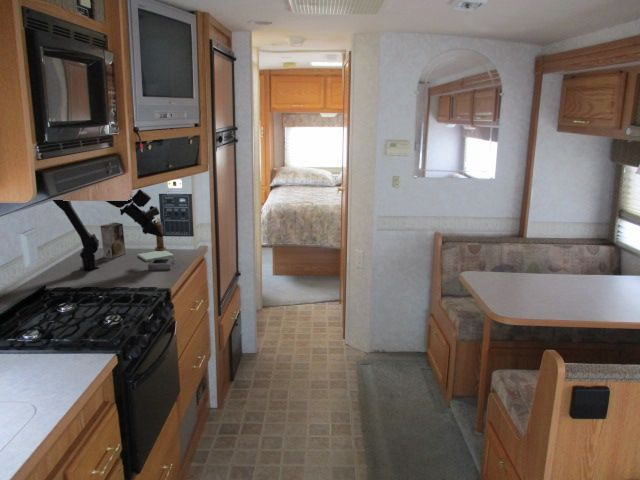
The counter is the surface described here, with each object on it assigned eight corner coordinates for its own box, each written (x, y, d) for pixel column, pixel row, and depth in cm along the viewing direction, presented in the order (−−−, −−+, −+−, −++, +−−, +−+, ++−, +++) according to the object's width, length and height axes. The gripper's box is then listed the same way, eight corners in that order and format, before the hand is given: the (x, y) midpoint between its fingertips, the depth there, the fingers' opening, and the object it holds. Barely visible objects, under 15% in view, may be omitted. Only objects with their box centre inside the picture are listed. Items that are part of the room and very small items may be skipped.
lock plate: (148, 270, 249) (147, 265, 248) (153, 262, 260) (153, 257, 260) (170, 269, 250) (170, 264, 249) (174, 262, 261) (174, 257, 261)
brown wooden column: (154, 252, 255) (152, 222, 251) (154, 248, 262) (152, 218, 259) (166, 251, 256) (164, 221, 253) (165, 247, 264) (164, 218, 260)
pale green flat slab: (146, 261, 262) (146, 259, 262) (137, 256, 271) (137, 254, 271) (173, 256, 271) (173, 254, 270) (164, 251, 280) (164, 249, 279)
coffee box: (116, 252, 279) (113, 222, 275) (126, 253, 276) (123, 223, 272) (103, 256, 271) (99, 225, 267) (112, 258, 268) (109, 226, 264)
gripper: (148, 205, 244) (174, 227, 250) (148, 198, 261) (173, 219, 267) (131, 223, 244) (158, 245, 249) (132, 215, 261) (157, 235, 267)
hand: (162, 235), depth 258 cm, fingers closed on brown wooden column, 3 cm apart
